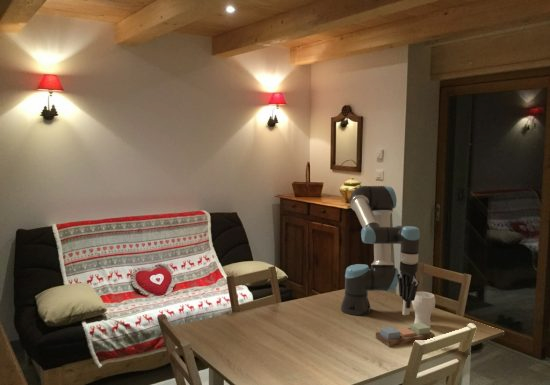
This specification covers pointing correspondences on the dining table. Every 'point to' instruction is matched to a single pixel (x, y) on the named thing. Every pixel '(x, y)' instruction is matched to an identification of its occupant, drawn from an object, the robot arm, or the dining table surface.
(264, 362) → the dining table surface
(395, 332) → the cap slate
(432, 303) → the cup
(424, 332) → the cap sage
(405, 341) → the button board
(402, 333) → the cap terracotta
